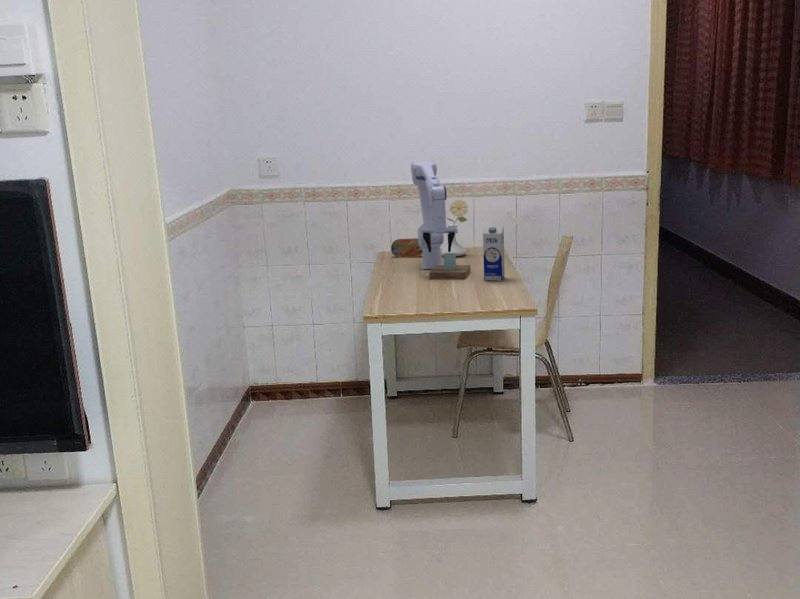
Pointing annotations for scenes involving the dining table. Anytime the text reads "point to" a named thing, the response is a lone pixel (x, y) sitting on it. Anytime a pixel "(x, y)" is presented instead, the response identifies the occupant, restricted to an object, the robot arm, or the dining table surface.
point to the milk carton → (493, 252)
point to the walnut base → (450, 272)
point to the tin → (406, 248)
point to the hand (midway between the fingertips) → (439, 251)
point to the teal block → (449, 261)
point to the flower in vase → (458, 210)
